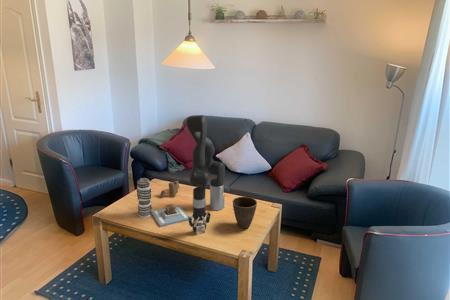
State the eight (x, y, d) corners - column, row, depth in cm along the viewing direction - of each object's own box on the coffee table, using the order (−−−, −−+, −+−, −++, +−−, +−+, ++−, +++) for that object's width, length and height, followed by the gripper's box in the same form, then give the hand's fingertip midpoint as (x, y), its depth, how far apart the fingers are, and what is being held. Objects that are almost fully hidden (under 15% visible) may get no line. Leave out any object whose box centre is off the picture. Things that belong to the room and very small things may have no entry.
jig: (179, 207, 229) (179, 202, 228) (190, 219, 212) (190, 215, 211) (151, 213, 220) (150, 208, 219) (160, 226, 203) (160, 222, 202)
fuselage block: (172, 212, 219) (172, 204, 217) (175, 215, 215) (175, 207, 213) (165, 213, 217) (165, 205, 215) (168, 217, 212) (167, 208, 211)
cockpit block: (201, 229, 201) (201, 220, 200) (204, 233, 197) (204, 224, 196) (193, 231, 199) (193, 222, 198) (197, 235, 195) (197, 226, 193)
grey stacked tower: (135, 215, 218) (132, 179, 210) (146, 210, 224) (144, 175, 217) (143, 219, 212) (141, 183, 205) (155, 214, 219) (153, 179, 212)
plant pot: (254, 232, 199) (256, 208, 194) (230, 230, 201) (230, 206, 196) (256, 220, 213) (258, 197, 208) (233, 218, 215) (234, 195, 210)
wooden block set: (174, 189, 258) (173, 177, 255) (183, 190, 254) (182, 178, 251) (159, 198, 243) (158, 185, 240) (169, 200, 239) (168, 186, 236)
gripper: (207, 199, 199) (207, 225, 204) (185, 204, 193) (185, 230, 198) (213, 204, 193) (212, 230, 198) (190, 209, 187) (190, 236, 191)
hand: (199, 230), depth 198 cm, fingers open, 5 cm apart
